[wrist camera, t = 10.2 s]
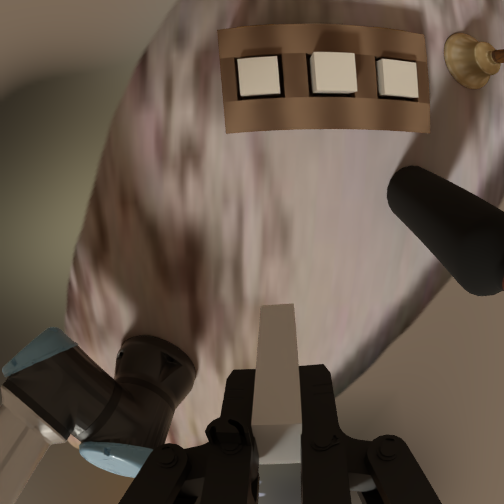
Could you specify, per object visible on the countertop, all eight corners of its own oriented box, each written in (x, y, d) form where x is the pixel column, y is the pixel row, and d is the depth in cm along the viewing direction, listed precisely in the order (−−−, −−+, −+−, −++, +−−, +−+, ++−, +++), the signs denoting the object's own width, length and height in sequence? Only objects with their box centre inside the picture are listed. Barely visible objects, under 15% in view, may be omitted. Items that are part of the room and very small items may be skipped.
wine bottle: (414, 153, 35) (598, 251, 8) (444, 195, 37) (600, 321, 10) (375, 192, 38) (515, 348, 11) (408, 230, 40) (532, 394, 13)
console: (232, 131, 37) (226, 133, 32) (224, 37, 32) (217, 27, 27) (413, 130, 34) (430, 133, 30) (407, 39, 29) (423, 32, 25)
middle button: (311, 93, 31) (316, 90, 27) (309, 60, 30) (313, 51, 25) (346, 93, 31) (357, 91, 26) (344, 60, 29) (354, 53, 25)
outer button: (371, 96, 32) (384, 94, 28) (369, 64, 30) (382, 58, 26) (402, 98, 32) (418, 97, 27) (400, 67, 30) (416, 62, 26)
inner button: (245, 97, 34) (240, 95, 29) (242, 65, 32) (237, 59, 28) (279, 95, 33) (280, 92, 29) (277, 63, 32) (277, 56, 27)
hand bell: (468, 100, 31) (545, 106, 17) (432, 50, 29) (504, 30, 15) (497, 72, 28) (572, 71, 14) (465, 24, 26) (535, 2, 12)
